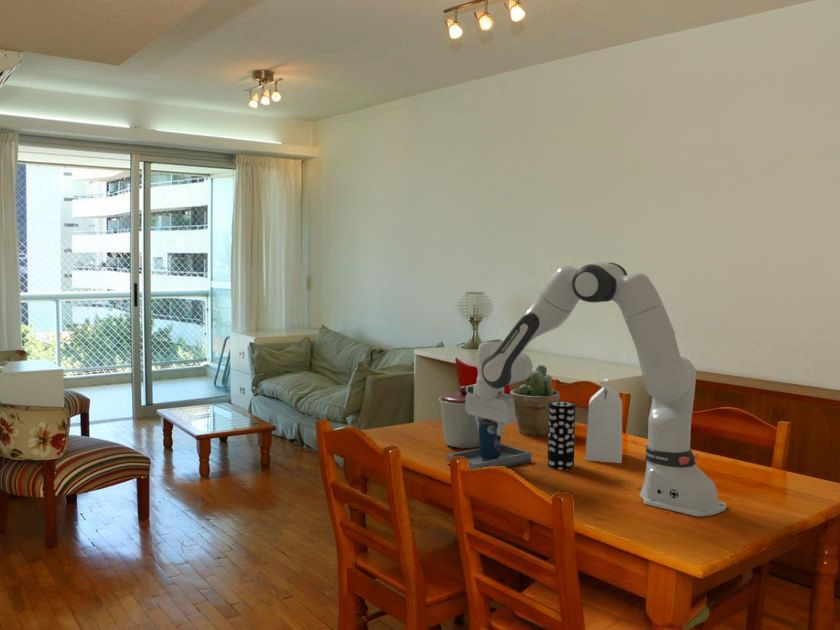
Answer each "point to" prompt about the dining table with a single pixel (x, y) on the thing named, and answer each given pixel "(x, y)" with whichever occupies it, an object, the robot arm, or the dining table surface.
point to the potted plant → (534, 402)
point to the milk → (604, 426)
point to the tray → (506, 459)
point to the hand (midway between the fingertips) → (489, 432)
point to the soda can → (489, 440)
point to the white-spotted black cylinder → (561, 435)
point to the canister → (458, 421)
